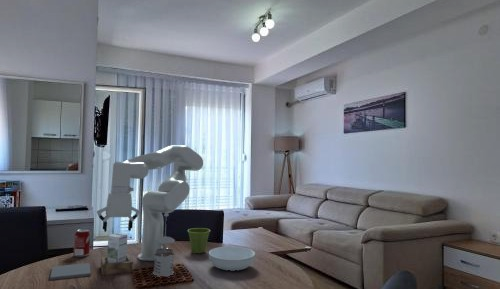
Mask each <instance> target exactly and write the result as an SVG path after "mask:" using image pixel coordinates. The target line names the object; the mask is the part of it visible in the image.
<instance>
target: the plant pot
mask: <svg viewBox="0 0 500 289" xmlns="http://www.w3.org/2000/svg"><path fill="white" fill-rule="evenodd" d="M187 232H188V236H189V242H190V244H189V246H190V252H191V253H192V252H193V253H192V254H195V253H198V254H200V253H202V252H204V253H206V250H207V245H208V240H209V236H210V232H211V229H209V228H205V227H196V228H195V227H194V228H188V229H187ZM202 254H203V253H202Z"/></svg>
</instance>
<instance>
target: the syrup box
mask: <svg viewBox="0 0 500 289" xmlns="http://www.w3.org/2000/svg"><path fill="white" fill-rule="evenodd" d="M107 240H108V241H107V255H106V257H107V264H108V263H118V262H126V255H128V254H127V253H128V252H127V251H128V248H127V247H128V234H125V233H124V234H123V233H119V232H117V233H111V234H109V235H108V236H107Z"/></svg>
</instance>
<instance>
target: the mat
mask: <svg viewBox="0 0 500 289" xmlns="http://www.w3.org/2000/svg"><path fill="white" fill-rule="evenodd" d="M90 264H91V263H90V262H87V263H85V262H84V263H77V264H65V265H55V266H52V267H51V271H50V276H49V281H55V280H56V281H57V280H64V279H72V278H74V279H75V278H80V277H81V278H82V277H90V276H91V275H92V272H91V265H90Z"/></svg>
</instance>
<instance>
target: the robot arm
mask: <svg viewBox="0 0 500 289" xmlns="http://www.w3.org/2000/svg"><path fill="white" fill-rule="evenodd" d="M172 163H173V172H172V173H171V175H169V176H168V177H167V178H166V179H164V181H163V182H161V184H160V185H159V186H158V190H157V191H156V190H150V191H147V192H146V193H145V194H144V195H143V197H142V200H141V204H142V205H141V207H142V213H143V214H142V215H143V216H142V217H143V218H142V234H141V235H142V238H141V253H139V254H138V255H137V259H138V260H140V261H144V262H154V258H155V253H157V252H156V250H157V249H160V248H164V246H163V244H160V246H159V243H157V242H155V240H156V239H158V238H160V237H164V224H165V223H164V215H163V214H165V213H168V214H171V213H173V212H174V211H176V210H177V208H178V207H180V206H181V204H182V203H184V201H186V199H187V198H188V196H189V194H190V185H189V182H187V176H186V171H190V172H191V171H192V172H193V171H194V172H195V171H196V172H197V171H200V170H202V168H203V166H204V160H203V157H202V156H201V155H200V154H199V153H198V152H197V151H195V150H194V149H192V148H191V147H189V146H188V145H183V144H182V145H181V144H180V145H178V144H176V145H175V144H173V145H172V144H171V145H168V146H166V147H162V148H161V149H158V150H157V151H153V152H149V153H146V154H141V155H138V156H134V157H131V158H128V159H126V160H124V161H114V163H113V164H112V175H111V176H112V177H111V187H110V188H111V189H110V190H111V191H110V193H108V194H107V199H106V205H105V207H102V208H101V209H99V210H97V211H96V214H97V216H98V218H99V219H100V220H101V221H102V230H103V232H105V233H106V232H107V230H108V229H107V228H108V220H109V219H111V218H128V224H127V225H128V227H127V230H128V231H129V232H131V230H132V229H133V223H134V220H136V219H137V218H138V217H139V214H141V210H139V209H138V208H135V207H134V206H133V200H132V199H133V198H132V193H131V192H134V187H132V186H131V180H132V179H134V180H137V179H139V180H141V179H144V178H146V177H147V176H148V175H149V173H150V171H151V170H159V169H162V168H164V167H166V166H168V165H170V164H172ZM104 212H105V216H103V215H102V213H104ZM133 212H135V213H134V215H132V213H133ZM170 248H171V247H170ZM171 249H173V248H171ZM161 257H163V254H162V253H161ZM155 261H156V260H155Z"/></svg>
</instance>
